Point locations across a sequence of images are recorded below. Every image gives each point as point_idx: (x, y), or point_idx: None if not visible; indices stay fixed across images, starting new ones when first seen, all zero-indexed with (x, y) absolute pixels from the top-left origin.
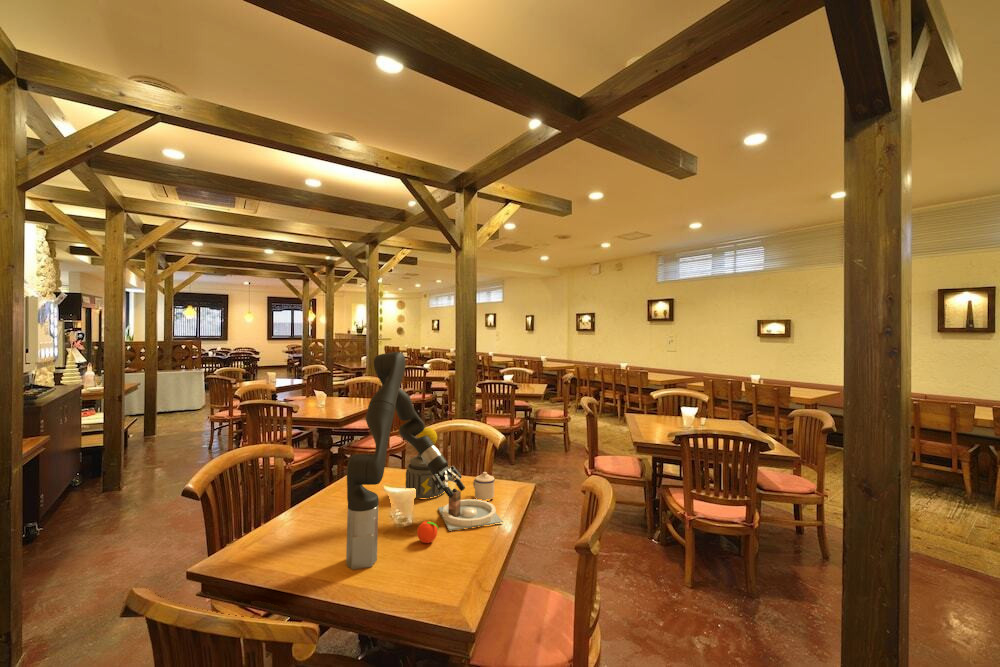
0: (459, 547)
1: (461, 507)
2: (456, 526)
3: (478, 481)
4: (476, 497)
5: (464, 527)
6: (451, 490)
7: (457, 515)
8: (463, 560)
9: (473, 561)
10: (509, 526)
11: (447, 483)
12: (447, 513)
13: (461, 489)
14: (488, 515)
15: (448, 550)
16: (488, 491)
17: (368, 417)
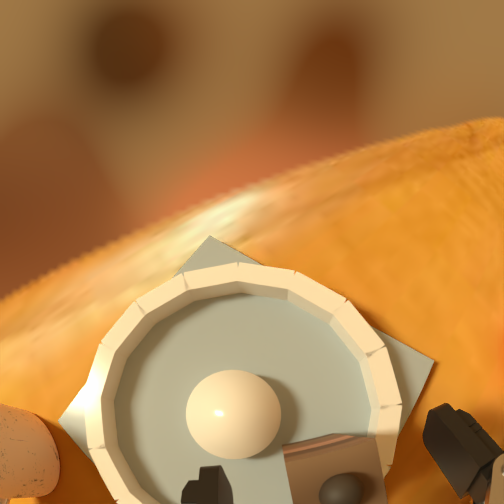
0: (457, 245)
1: None
2: (396, 357)
3: None
4: (50, 481)
5: (371, 327)
6: (454, 432)
7: (315, 438)
8: (473, 196)
9: (455, 177)
10: (214, 214)
11: (491, 493)
12: None
13: (229, 491)
14: (237, 273)
15: (488, 257)
16: (10, 415)
17: None
